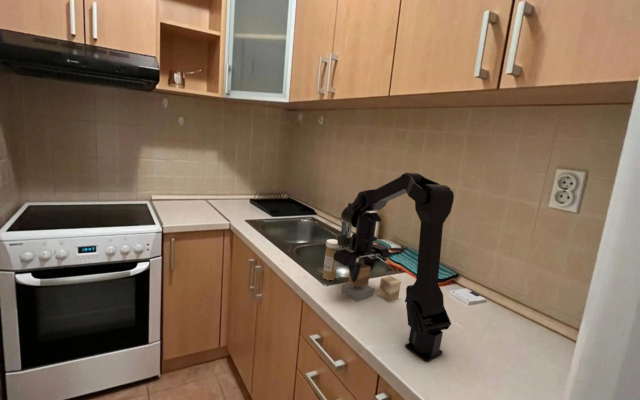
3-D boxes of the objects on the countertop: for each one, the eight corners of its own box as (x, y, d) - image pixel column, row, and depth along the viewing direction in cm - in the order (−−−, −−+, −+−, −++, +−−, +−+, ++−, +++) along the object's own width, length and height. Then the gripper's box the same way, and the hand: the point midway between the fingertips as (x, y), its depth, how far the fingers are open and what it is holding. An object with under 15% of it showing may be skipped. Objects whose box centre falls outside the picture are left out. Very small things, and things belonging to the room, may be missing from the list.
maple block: (398, 299, 108) (401, 281, 107) (388, 302, 105) (391, 283, 104) (387, 292, 111) (390, 275, 110) (378, 295, 108) (380, 278, 107)
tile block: (372, 297, 108) (373, 288, 107) (357, 302, 103) (358, 293, 103) (356, 288, 113) (357, 279, 112) (341, 293, 108) (342, 284, 108)
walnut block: (368, 284, 107) (370, 266, 106) (357, 287, 104) (360, 268, 103) (358, 278, 110) (360, 261, 109) (348, 281, 107) (350, 263, 106)
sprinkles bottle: (338, 279, 117) (342, 242, 114) (327, 282, 114) (331, 243, 112) (330, 274, 120) (334, 238, 118) (319, 276, 118) (323, 239, 115)
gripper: (368, 222, 116) (362, 265, 119) (324, 227, 104) (319, 275, 107) (393, 232, 107) (386, 278, 110) (349, 238, 96) (342, 290, 99)
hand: (358, 280), depth 107 cm, fingers closed on walnut block, 4 cm apart
